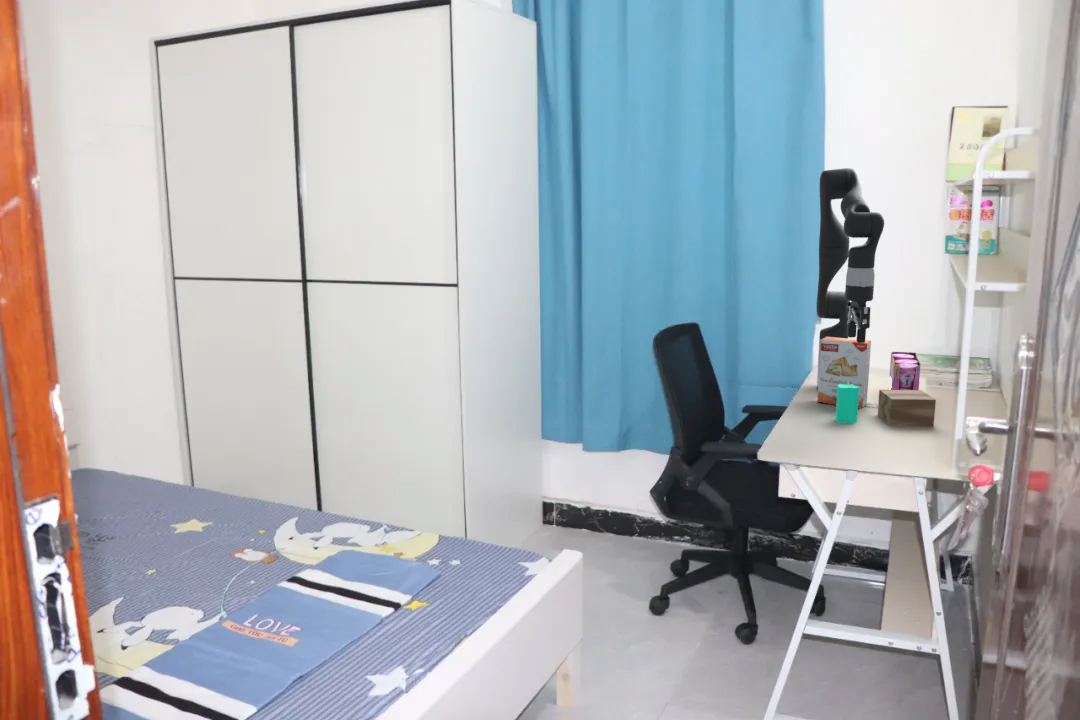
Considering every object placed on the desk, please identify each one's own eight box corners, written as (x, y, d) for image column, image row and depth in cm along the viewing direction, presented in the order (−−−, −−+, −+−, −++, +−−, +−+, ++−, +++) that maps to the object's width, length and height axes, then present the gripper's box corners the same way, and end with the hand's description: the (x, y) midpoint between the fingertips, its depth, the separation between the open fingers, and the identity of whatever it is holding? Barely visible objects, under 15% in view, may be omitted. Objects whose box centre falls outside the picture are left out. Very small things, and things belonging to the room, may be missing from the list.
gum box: (918, 409, 255) (921, 366, 252) (890, 407, 258) (893, 364, 255) (913, 392, 277) (916, 352, 274) (887, 390, 279) (890, 351, 277)
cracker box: (816, 403, 263) (820, 338, 259) (822, 399, 268) (825, 335, 264) (862, 409, 256) (867, 342, 251) (867, 404, 260) (871, 339, 256)
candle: (858, 423, 239) (861, 383, 237) (836, 422, 240) (839, 382, 238) (855, 418, 245) (857, 378, 243) (834, 417, 246) (836, 378, 244)
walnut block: (877, 415, 249) (879, 389, 247) (919, 416, 247) (921, 390, 246) (889, 426, 237) (891, 399, 235) (933, 427, 236) (935, 399, 234)
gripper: (839, 281, 242) (835, 335, 245) (853, 286, 228) (850, 344, 231) (865, 281, 241) (861, 335, 244) (881, 286, 227) (877, 344, 230)
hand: (856, 339), depth 238 cm, fingers open, 8 cm apart
